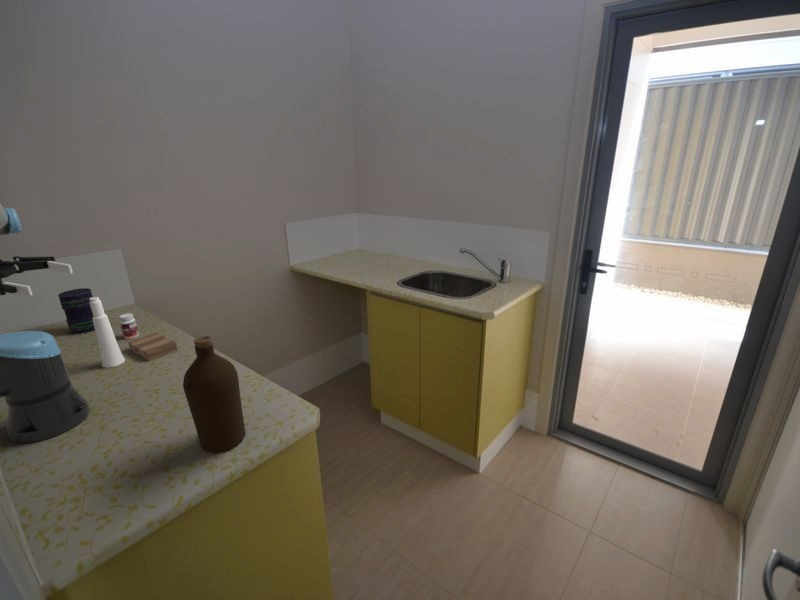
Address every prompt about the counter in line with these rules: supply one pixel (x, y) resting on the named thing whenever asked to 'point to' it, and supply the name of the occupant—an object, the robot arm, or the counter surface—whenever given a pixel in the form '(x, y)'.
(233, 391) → the olive oil
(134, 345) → the walnut board
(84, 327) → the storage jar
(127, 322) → the pill bottle
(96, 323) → the cosmetic bottle
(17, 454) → the counter surface
